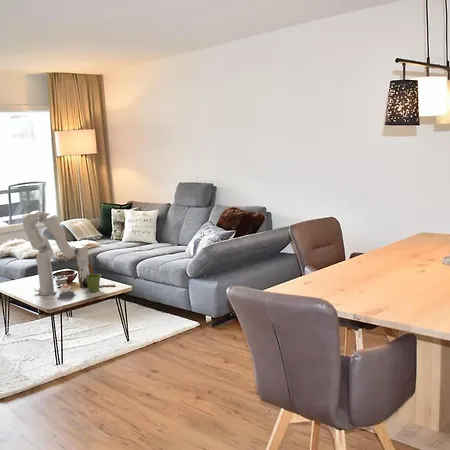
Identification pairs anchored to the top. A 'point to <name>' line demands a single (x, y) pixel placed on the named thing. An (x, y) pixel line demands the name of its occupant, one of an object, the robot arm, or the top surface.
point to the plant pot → (93, 282)
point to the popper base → (66, 295)
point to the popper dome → (65, 289)
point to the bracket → (106, 285)
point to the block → (89, 272)
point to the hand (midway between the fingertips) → (85, 287)
